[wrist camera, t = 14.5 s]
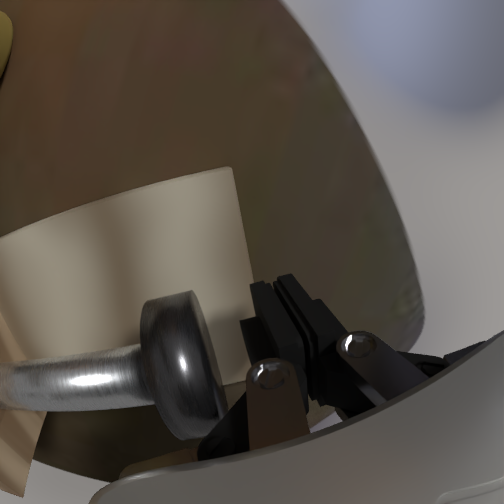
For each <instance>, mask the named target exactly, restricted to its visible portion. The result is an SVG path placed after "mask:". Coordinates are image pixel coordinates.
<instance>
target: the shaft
mask: <svg viewBox="0 0 504 504" xmlns="http://www.w3.org/2000/svg"><path fill="white" fill-rule="evenodd" d="M153 404H155V405H156V407H157V410H158V412H159V414H160V416H161V418H162V419H163V421H164V423H165V424H166V426H167V428H168V429H169V430H170V431H171V433H172V434H173V435H174V436H175V437H177V438H178V439H180V440H188V439H195V438H201V437H206V436H207V435H208V434H209V433H210V431H211V430H212V429H213V428H214V427H215V426H216V425H217V424H218V423H219V422H220V420H221V419H222V418H223V417H224V416H225V415H226V414H227V413H228V411H229V410H228V405H227V400H226V395H225V391H224V386H223V382H222V378H221V374H220V370H219V366H218V363H217V359H216V355H215V351H214V348H213V344H212V341H211V337H210V334H209V331H208V327H207V324H206V321H205V318H204V315H203V312H202V309H201V306H200V304H199V301H198V299H197V296H196V295H195V293H194V291H193V290H190V291H185V292H181V293H177V294H172V295H168V296H164V297H159V298H155V299H151V300H147V301H146V302H145V304H144V305H143V308H142V312H141V317H140V344H135V345H130V346H124V347H119V348H113V349H107V350H101V351H94V352H88V353H81V354H74V355H67V356H59V357H51V358H42V359H33V360H23V361H12V362H0V409H8V410H24V411H89V410H105V409H117V408H128V407H137V406H145V405H153Z"/></svg>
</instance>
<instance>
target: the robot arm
mask: <svg viewBox="0 0 504 504" xmlns="http://www.w3.org/2000/svg"><path fill="white" fill-rule="evenodd" d="M249 285H250V291H251V296H252V301H253V306H254V311H255V317H251V318H247V319H243V320H239V322H240V327H241V331H242V335H243V339H244V342H245V346H246V350H247V353H248V357H249V360H250V363H251V366H252V367H250V368H249V370H248V372H247V373H246V392H245V393H244V394H243V395H242V396H241V398H240V399H239V400H238V401H237V402H236V403H235V405H234V406H233V407H232V408H231V409H230V410H229V411H228V413H227V414H226V415H225V416H224V417H223V418H222V419H221V420H220V422H219V423H218V424H217V425H216V426H215V427H214V428H213V429H212V430H211V431H210V433H209V434H208V435H207V436H206V437H205V438H204V439H203V440H202V442H201V443H200V444H199V446H198V447H197V448H194V449H191V450H189V449H188V448H184V449H181V450H178V451H175V452H172V453H169V454H166V455H163V456H159V457H156V458H152V459H149V460H145V461H141V462H138V463H134V464H131V465H129V466H127V467H126V468H125V469H123V470H122V472H121V474H120V476H119V480H117V481H114V482H112V483H110V484H108V485H106V486H105V487H103V488H101V489H100V490H99V491H98V492H96V493H95V494H94V496H93V497H92V498H91V500H90V502H89V504H504V330H503V331H501V332H500V333H498V334H496V335H494V336H493V337H492V338H490V339H488V340H487V341H482V342H479V343H476V344H474V345H471V346H468V347H466V348H463V349H461V350H458V351H455V352H452V353H449V354H446V355H444V357H443V359H442V358H440V357H436V356H429V355H422V354H414V353H407V352H400V351H395V350H394V349H393V348H392V347H390V346H389V345H388V344H386V343H385V342H384V341H383V340H381V339H380V338H379V337H378V336H376V335H375V334H373V333H371V332H367V331H352V332H349V333H348V332H347V330H346V329H345V328H344V327H343V326H342V324H341V323H340V322H339V321H338V319H337V318H336V317H335V316H334V315H333V313H332V312H331V311H330V310H329V309H328V307H327V306H326V305H325V304H324V303H323V301H322V300H321V299H316V300H312V299H311V298H310V297H309V295H308V294H307V293H306V291H305V290H304V289H303V288H302V286H301V285H300V284H299V283H298V281H297V280H296V279H295V277H294V276H293V275H292V274H287V275H283V276H279V277H277V281H274V282H273V287H274V290H273V288H272V286H271V284H270V283H266V284H265V283H264V281H260V282H256V283H252V284H249ZM308 394H309V396H310V398H311V400H312V401H313V400H316V399H317V401H318V403H319V405H320V407H321V406H324V405H329V406H333V407H335V411H336V413H337V414H338V416H339V417H340V418H341V419H342V422H340V423H337V424H335V425H333V426H330V427H327V428H324V429H322V430H319V431H316V432H313V433H310V429H309V425H308V421H307V416H306V415H307V413H308V412H309V404H308Z"/></svg>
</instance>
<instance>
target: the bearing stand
mask: <svg viewBox="0 0 504 504" xmlns="http://www.w3.org/2000/svg"><path fill="white" fill-rule="evenodd" d="M252 283H254V281H253V276H252V271H251V265H250V260H249V255H248V250H247V245H246V240H245V234H244V229H243V224H242V219H241V213H240V208H239V203H238V198H237V193H236V187H235V182H234V177H233V172H232V168H230V167H228V166H227V167H222V168H217V169H213V170H208V171H204V172H199V173H195V174H191V175H186V176H182V177H178V178H174V179H170V180H166V181H162V182H159V183H155V184H151V185H147V186H144V187H140V188H137V189H133V190H130V191H126V192H123V193H119V194H116V195H113V196H110V197H106V198H103V199H100V200H97V201H94V202H91V203H88V204H85V205H82V206H79V207H76V208H73V209H70V210H67V211H65V212H62V213H59V214H56V215H54V216H51V217H48V218H46V219H43V220H41V221H38V222H35V223H33V224H30V225H28V226H25V227H23V228H21V229H18V230H16V231H13V232H11V233H9V234H7V235H4V236H2V237H0V362H12V361H23V360H33V359H42V358H51V357H59V356H67V355H74V354H81V353H88V352H94V351H101V350H107V349H113V348H119V347H124V346H130V345H135V344H140V317H141V312H142V308H143V305H144V304H145V302H146V301H147V300H151V299H155V298H159V297H164V296H168V295H172V294H177V293H181V292H185V291H190V290H193V291H194V293H195V295H196V296H197V299H198V301H199V304H200V306H201V309H202V312H203V315H204V318H205V321H206V324H207V327H208V331H209V334H210V337H211V341H212V344H213V348H214V351H215V355H216V359H217V363H218V366H219V370H220V374H221V378H222V382H223V385H227V384H231V383H235V382H239V381H243V380H246V373H247V372H248V370H249V368H250V367H252V366H251V363H250V360H249V357H248V353H247V350H246V346H245V342H244V339H243V335H242V331H241V327H240V322H239V320H243V319H247V318H251V317H255V311H254V306H253V301H252V296H251V291H250V285H249V284H252ZM46 413H47V411H24V410H8V409H0V489H1V490H2V491H5V492H8V493H11V494H14V495H16V496H19V497H22V498H23V496H24V491H25V487H26V482H27V477H28V474H29V469H30V465H31V461H32V458H33V454H34V451H35V447H36V444H37V441H38V437H39V434H40V431H41V428H42V425H43V422H44V419H45V416H46Z"/></svg>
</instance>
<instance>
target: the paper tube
mask: <svg viewBox="0 0 504 504" xmlns="http://www.w3.org/2000/svg"><path fill="white" fill-rule="evenodd" d="M12 42H13V27H12V22H11V20H10V19H9V17H8V16H7V15H6V14H5V13H3V12H1V11H0V78H1V76H2V74H3V71H4V69H5V67H6V64H7V61H8V59H9V55H10V52H11V48H12Z"/></svg>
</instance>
